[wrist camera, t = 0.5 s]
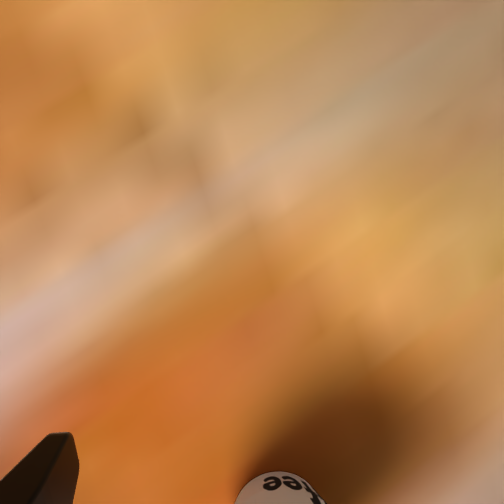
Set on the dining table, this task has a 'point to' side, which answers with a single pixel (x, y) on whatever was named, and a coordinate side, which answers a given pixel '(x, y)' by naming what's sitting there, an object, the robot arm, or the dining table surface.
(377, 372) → the dining table surface
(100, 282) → the dining table surface
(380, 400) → the dining table surface
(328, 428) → the dining table surface
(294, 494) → the cup
